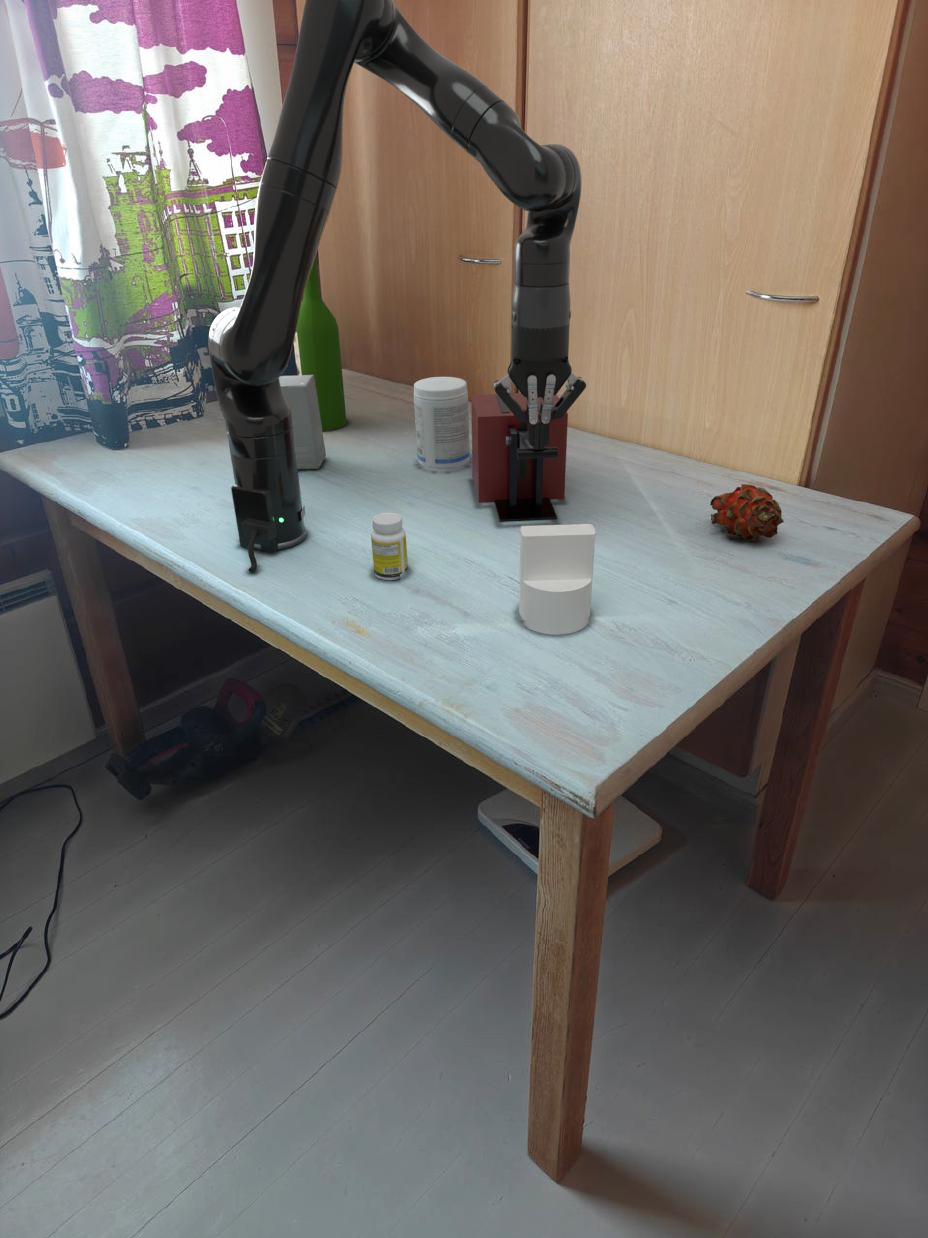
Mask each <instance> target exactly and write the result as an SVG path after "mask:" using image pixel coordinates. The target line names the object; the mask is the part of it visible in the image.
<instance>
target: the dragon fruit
mask: <svg viewBox="0 0 928 1238" xmlns="http://www.w3.org/2000/svg"><path fill="white" fill-rule="evenodd" d="M708 504H710V505H709V506H711V509H712V510H714V511H717V512H715V513H711V514H710V521H711V524H712V525H718V526H725V527H727V531H726V534H727V537H728V538H730V539H737V538H739V537H740V536H742V538H743V540H745V541H749V542H758V540H759V539H760V538H761V537H764V538H768V539H771V538H773V537H775V536H777V535H778V527H779V525H781V524H782V523H785V521H784V519H783V517H782V513H783V512H782V508H781V506H780V504H779V503H778V501H777V500H776V499H774V498H773V495H772V494H771V493H770V492H769V491H768V490H767V489H766V488H765V487H761V486H760V487H757V486H755V485H753V484H748V483H747V484H746V483H742V484H740V486H736V488H735V489H734V491H732V492H725V493H722V494H719V495H715V496H714V497H713V498H712V499H711V500H710V503H707V505H708Z"/></svg>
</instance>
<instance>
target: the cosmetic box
mask: <svg viewBox="0 0 928 1238" xmlns="http://www.w3.org/2000/svg"><path fill="white" fill-rule="evenodd" d="M279 381H280V386H281V389H282V392H283V394H284V397H285V399H286V401H287V403H288V405H289V407H290V410H291V416H292V425H293V433H294V442H295V451H296V459H297V468H298V470H319V469H320V467H321V465H322V464H323V462H324V461H325V459H326V456H327V453H326V446H325V439H324V438H325V437H324V431H322V425H321V419H320V412H319V405H318V399H317V392H316V386H315V379H314V375H298V376H297V375H281V376H280V377H279Z"/></svg>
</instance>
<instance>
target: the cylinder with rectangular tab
mask: <svg viewBox="0 0 928 1238" xmlns="http://www.w3.org/2000/svg"><path fill="white" fill-rule="evenodd" d="M519 533H520V535H519V536H520V537H519V539H520V540H519V541H520V542H519V588H518V589H519V590H518V591H519V593H518V613H519V615H520V617H521V618H522V619H520V620H519V621H520V623H521V624H522V626H524V627H525V628H527V629H529V630H531V631H533V632H536V633H538V634H545V635H550V636H551V635H552V636H553V635H554V636H560V635H570V634H573V633H576V632H579V631H581V630H583V629H584V628H585V627H586V626H587V625H588V624H589V622H590V620H591V616H590V615H591V608H592V591H593V575H594V561H595V559H594V558H595V548H596V547H595V546H596V545H595V543H596V528H595V527H594V525H593V524H592V523H580V524H575V523H574V524H546V525H543V524H542V525H520V531H519Z"/></svg>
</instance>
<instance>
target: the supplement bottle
mask: <svg viewBox="0 0 928 1238" xmlns="http://www.w3.org/2000/svg"><path fill="white" fill-rule="evenodd" d="M370 539H371V553H372V561H373V562H372V564H373V573H374V576H375V577H376V578H377V579H379V580H383V581H398V580H400V579H401V575H402V574H404V573H405V572H407V570H408V569H409V566H408V565H409V564H408V549H407V533H406V530H405V529H404V528H403V517H402V516H401V514H399V513H396V512H381V513H378V514H376V515H374V516H373V517H372V531H371V534H370Z"/></svg>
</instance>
